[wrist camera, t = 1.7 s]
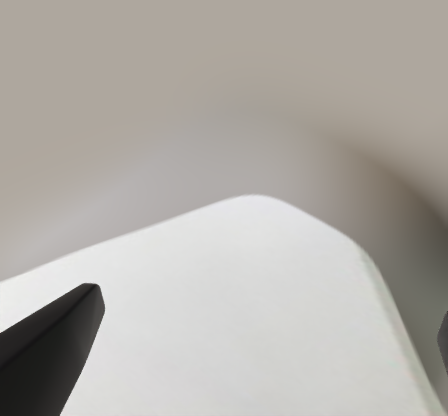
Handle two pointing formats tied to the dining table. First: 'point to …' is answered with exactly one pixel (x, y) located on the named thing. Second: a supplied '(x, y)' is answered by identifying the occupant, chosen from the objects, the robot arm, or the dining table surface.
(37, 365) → the robot arm
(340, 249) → the dining table surface
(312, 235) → the dining table surface
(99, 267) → the dining table surface
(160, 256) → the dining table surface
